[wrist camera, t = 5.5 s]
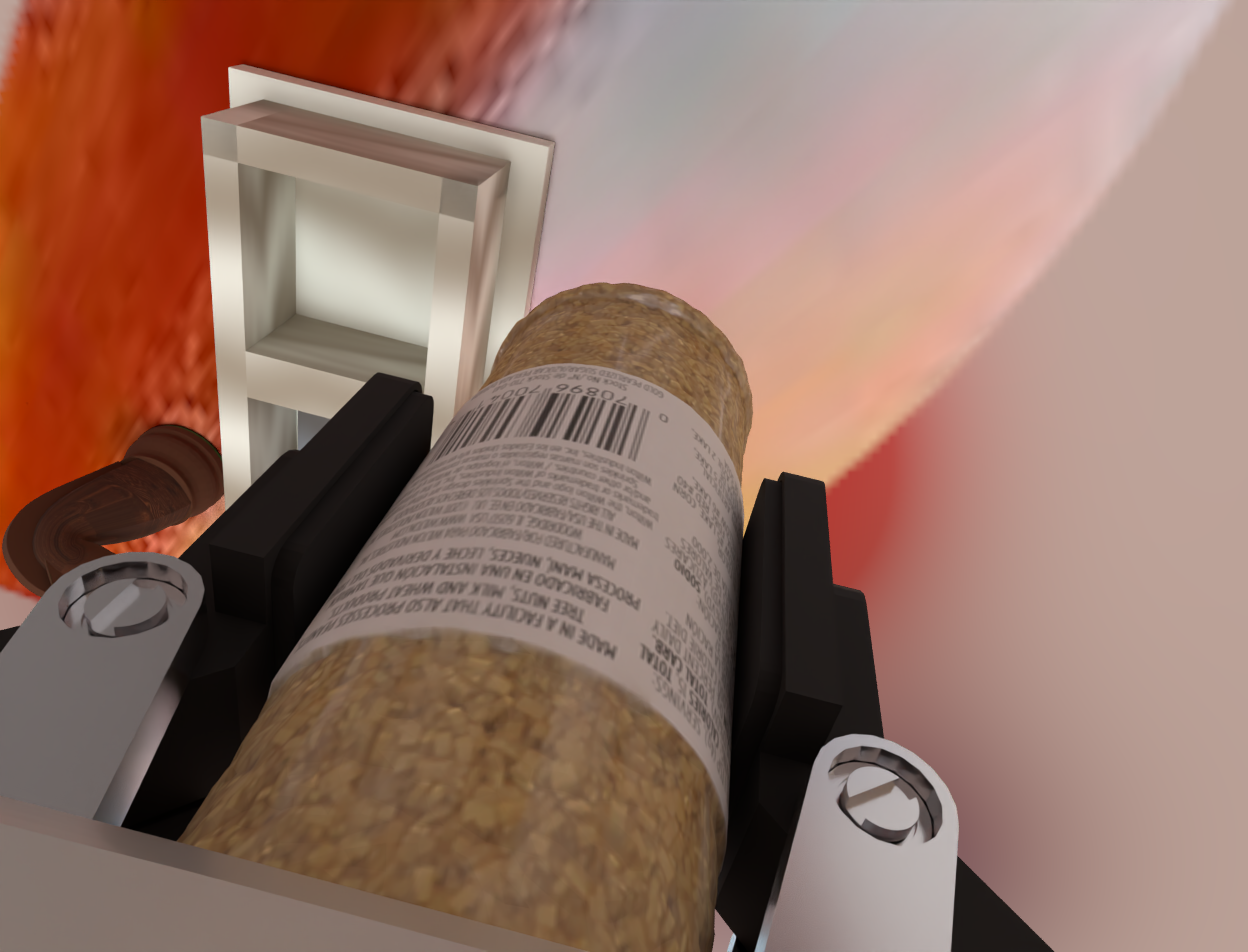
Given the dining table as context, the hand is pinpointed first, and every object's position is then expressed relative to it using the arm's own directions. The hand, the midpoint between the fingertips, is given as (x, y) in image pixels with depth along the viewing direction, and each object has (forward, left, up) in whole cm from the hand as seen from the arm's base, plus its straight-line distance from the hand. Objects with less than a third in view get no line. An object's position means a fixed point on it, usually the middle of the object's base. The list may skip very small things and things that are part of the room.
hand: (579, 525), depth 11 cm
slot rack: (+10, -12, -23) cm, 28 cm away
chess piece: (+19, -22, -23) cm, 37 cm away
